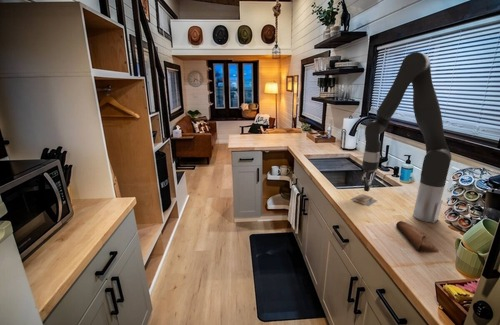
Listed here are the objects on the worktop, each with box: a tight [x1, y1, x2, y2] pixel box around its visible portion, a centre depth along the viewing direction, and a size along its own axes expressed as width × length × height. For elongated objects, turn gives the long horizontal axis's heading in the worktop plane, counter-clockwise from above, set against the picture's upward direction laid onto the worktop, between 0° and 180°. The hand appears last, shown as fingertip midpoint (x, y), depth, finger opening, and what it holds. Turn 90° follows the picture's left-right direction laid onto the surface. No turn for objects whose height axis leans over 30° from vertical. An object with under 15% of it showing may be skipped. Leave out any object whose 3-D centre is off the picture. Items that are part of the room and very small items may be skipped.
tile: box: [353, 193, 374, 206], centre depth 136 cm, size 6×2×8 cm
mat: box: [350, 194, 378, 207], centre depth 137 cm, size 10×10×1 cm
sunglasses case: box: [395, 220, 440, 253], centre depth 104 cm, size 18×7×7 cm, turn 176°
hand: (366, 190), depth 136 cm, fingers closed
